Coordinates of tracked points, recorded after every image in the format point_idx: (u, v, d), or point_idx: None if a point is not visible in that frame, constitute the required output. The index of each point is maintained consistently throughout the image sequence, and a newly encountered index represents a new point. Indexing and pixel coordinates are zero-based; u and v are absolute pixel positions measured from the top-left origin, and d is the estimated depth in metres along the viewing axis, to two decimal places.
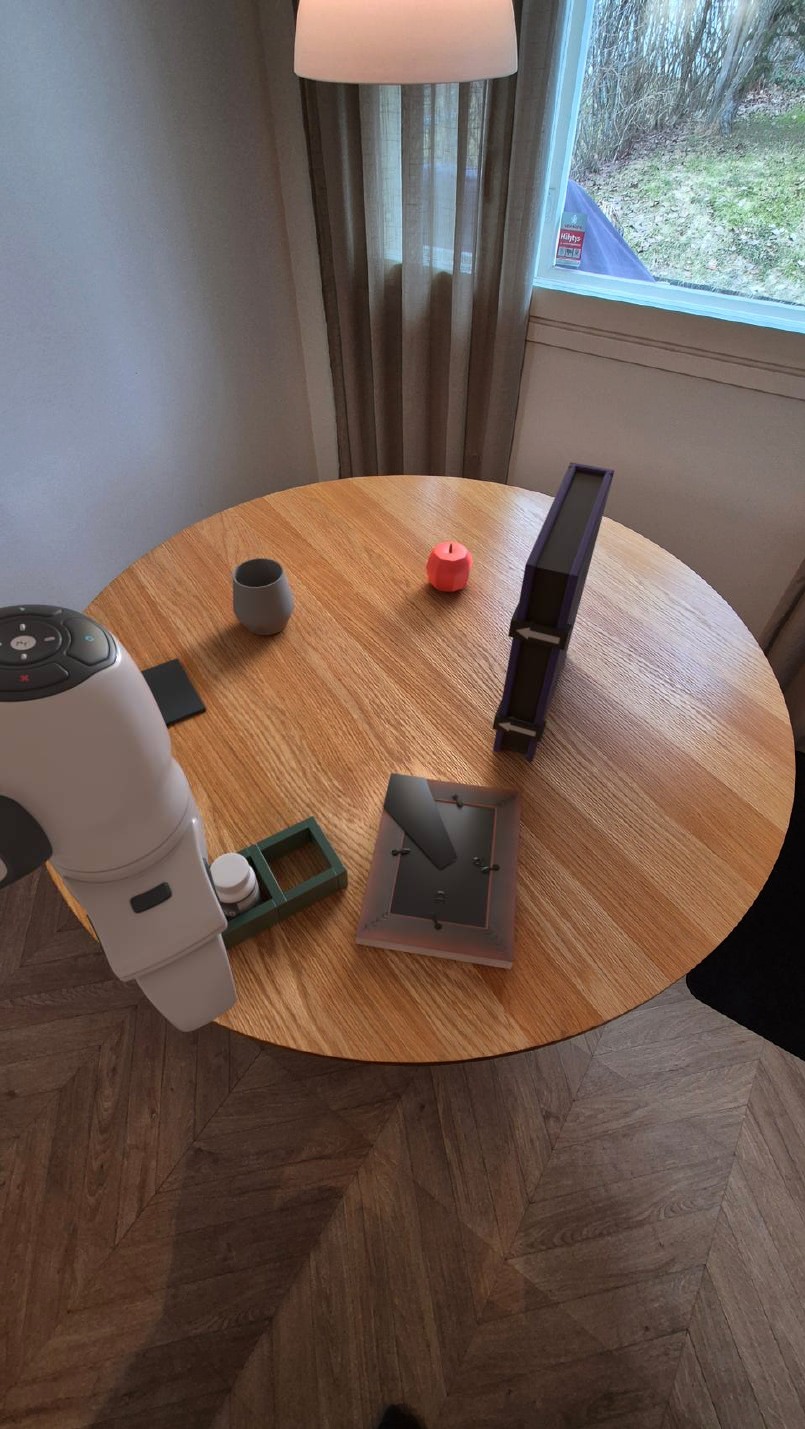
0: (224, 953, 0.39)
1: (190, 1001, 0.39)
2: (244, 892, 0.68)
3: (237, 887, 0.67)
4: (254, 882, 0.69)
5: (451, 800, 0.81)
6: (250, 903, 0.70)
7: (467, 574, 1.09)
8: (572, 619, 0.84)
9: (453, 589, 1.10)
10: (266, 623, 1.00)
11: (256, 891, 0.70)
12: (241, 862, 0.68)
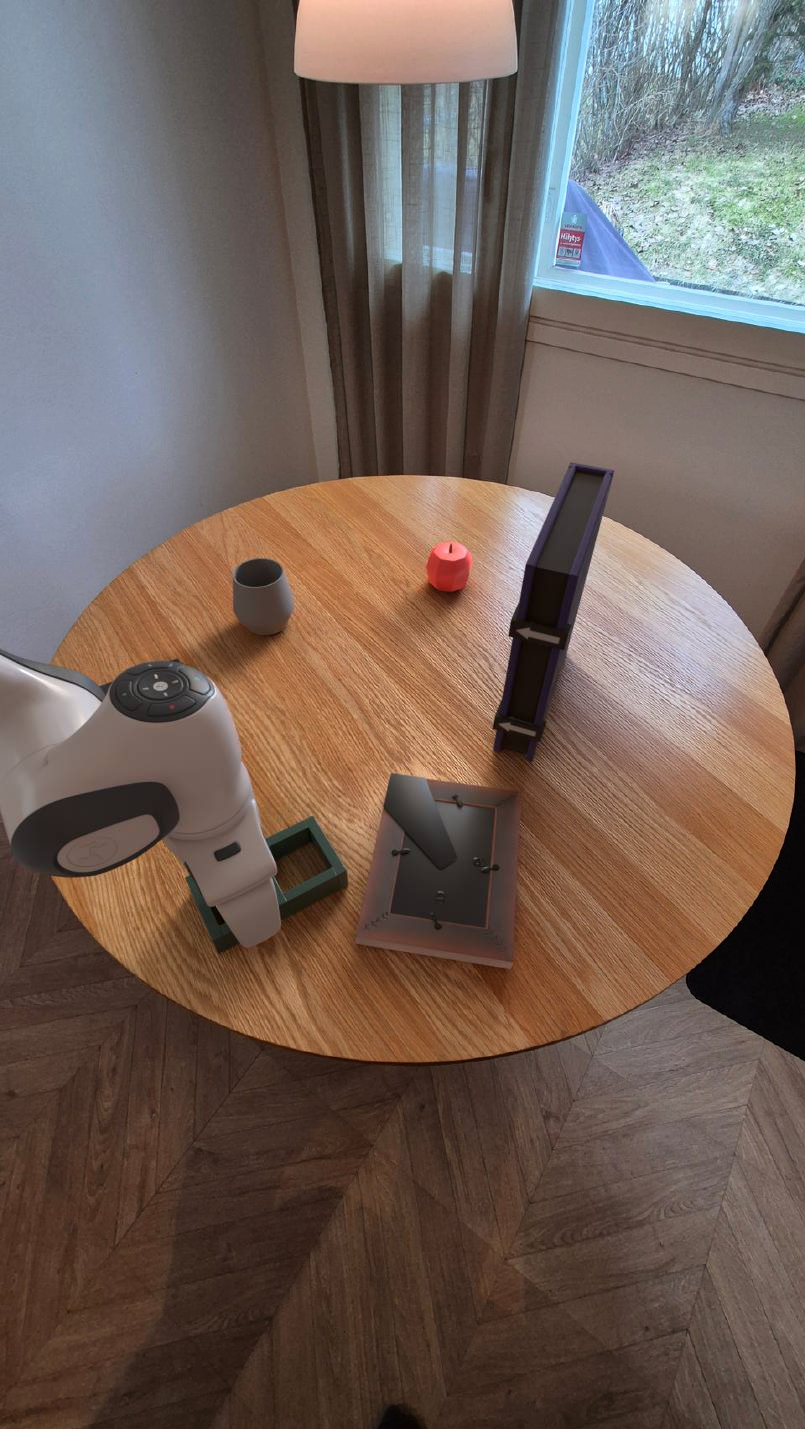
0: (274, 891, 0.57)
1: (251, 923, 0.57)
2: None
3: None
4: None
5: (451, 800, 0.81)
6: None
7: (467, 574, 1.09)
8: (572, 619, 0.84)
9: (453, 589, 1.10)
10: (266, 623, 1.00)
11: None
12: None
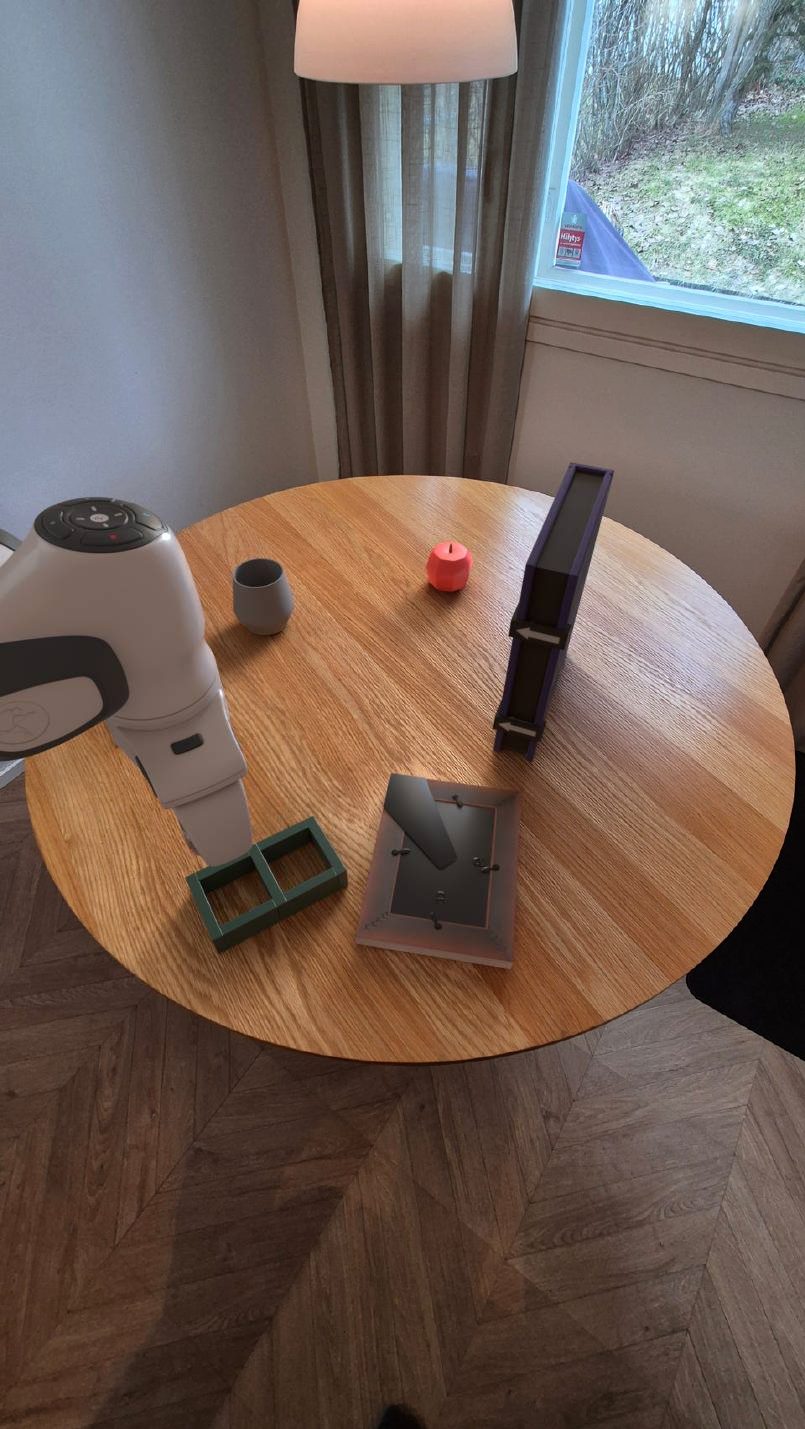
0: (244, 796, 0.48)
1: (216, 835, 0.48)
2: None
3: None
4: None
5: (451, 800, 0.81)
6: None
7: (467, 574, 1.09)
8: (572, 619, 0.84)
9: (453, 589, 1.10)
10: (266, 623, 1.00)
11: None
12: None
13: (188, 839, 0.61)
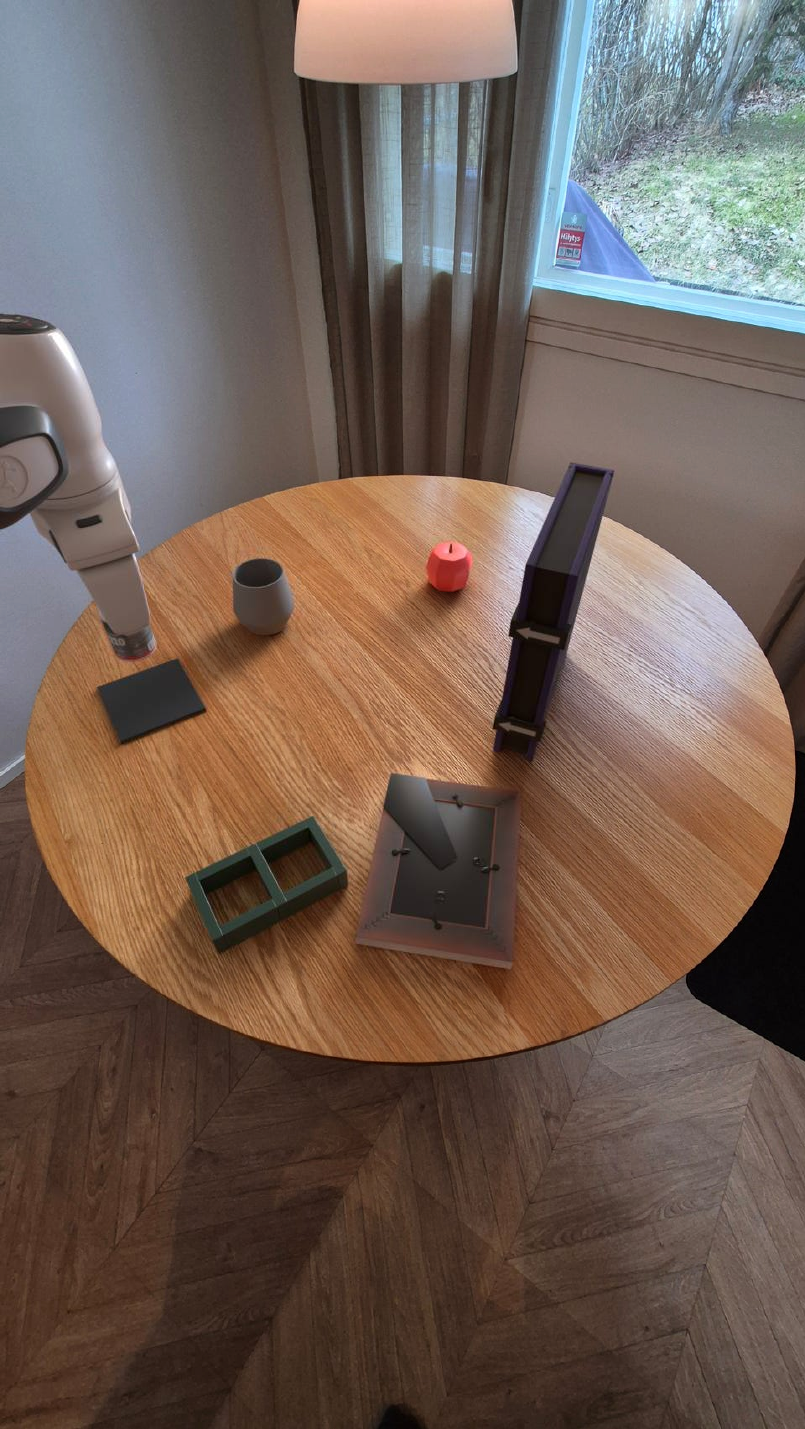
0: (137, 569, 0.61)
1: (116, 600, 0.61)
2: None
3: None
4: None
5: (451, 800, 0.81)
6: (139, 632, 0.74)
7: (467, 574, 1.09)
8: (572, 619, 0.84)
9: (453, 589, 1.10)
10: (266, 623, 1.00)
11: None
12: None
13: (112, 643, 0.74)
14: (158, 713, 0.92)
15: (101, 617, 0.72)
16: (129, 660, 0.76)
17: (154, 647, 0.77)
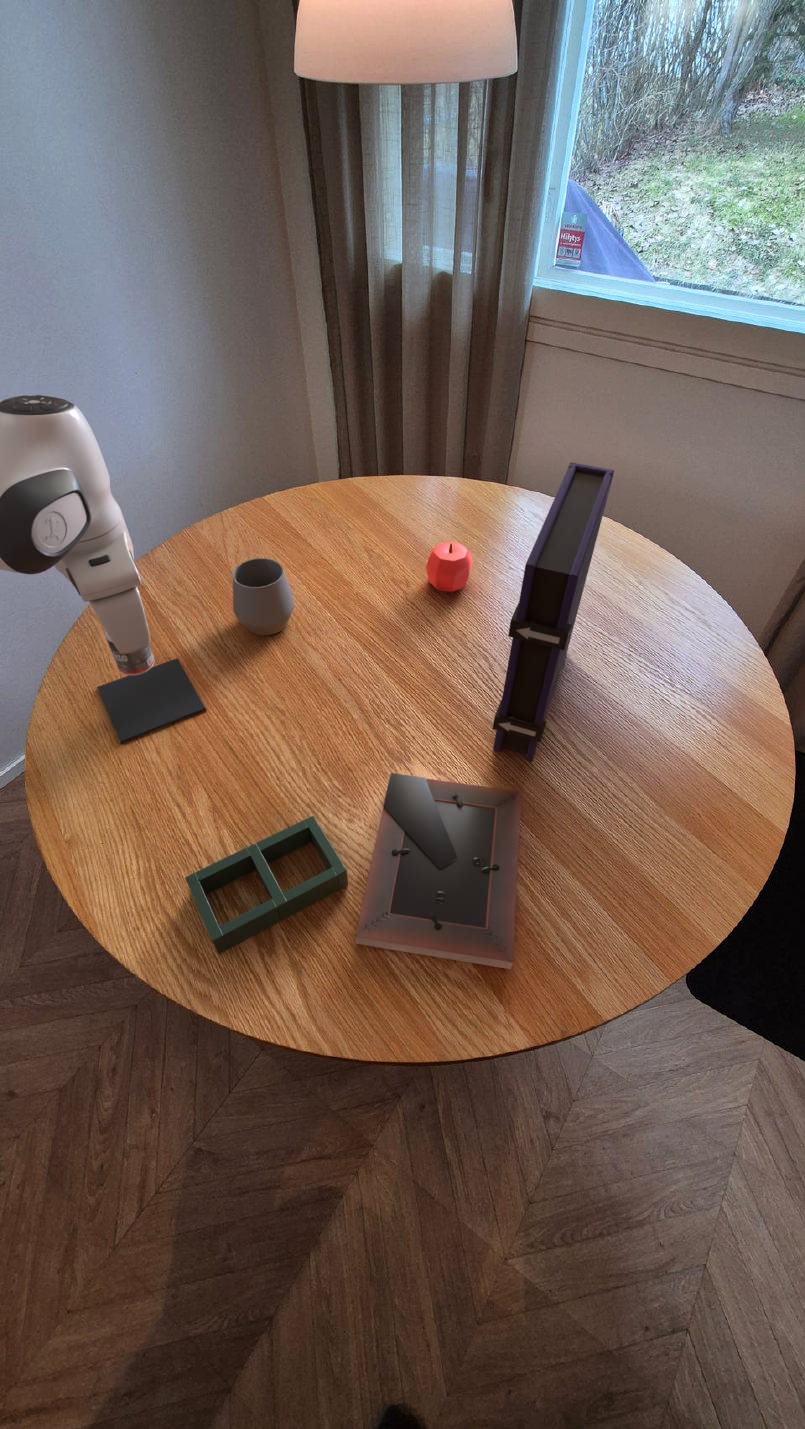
0: (140, 599, 0.73)
1: (122, 625, 0.73)
2: None
3: None
4: None
5: (451, 800, 0.81)
6: (139, 650, 0.86)
7: (467, 574, 1.09)
8: (572, 619, 0.84)
9: (453, 589, 1.10)
10: (266, 623, 1.00)
11: None
12: None
13: (116, 659, 0.86)
14: (158, 713, 0.92)
15: (107, 637, 0.84)
16: (131, 674, 0.87)
17: (152, 663, 0.89)
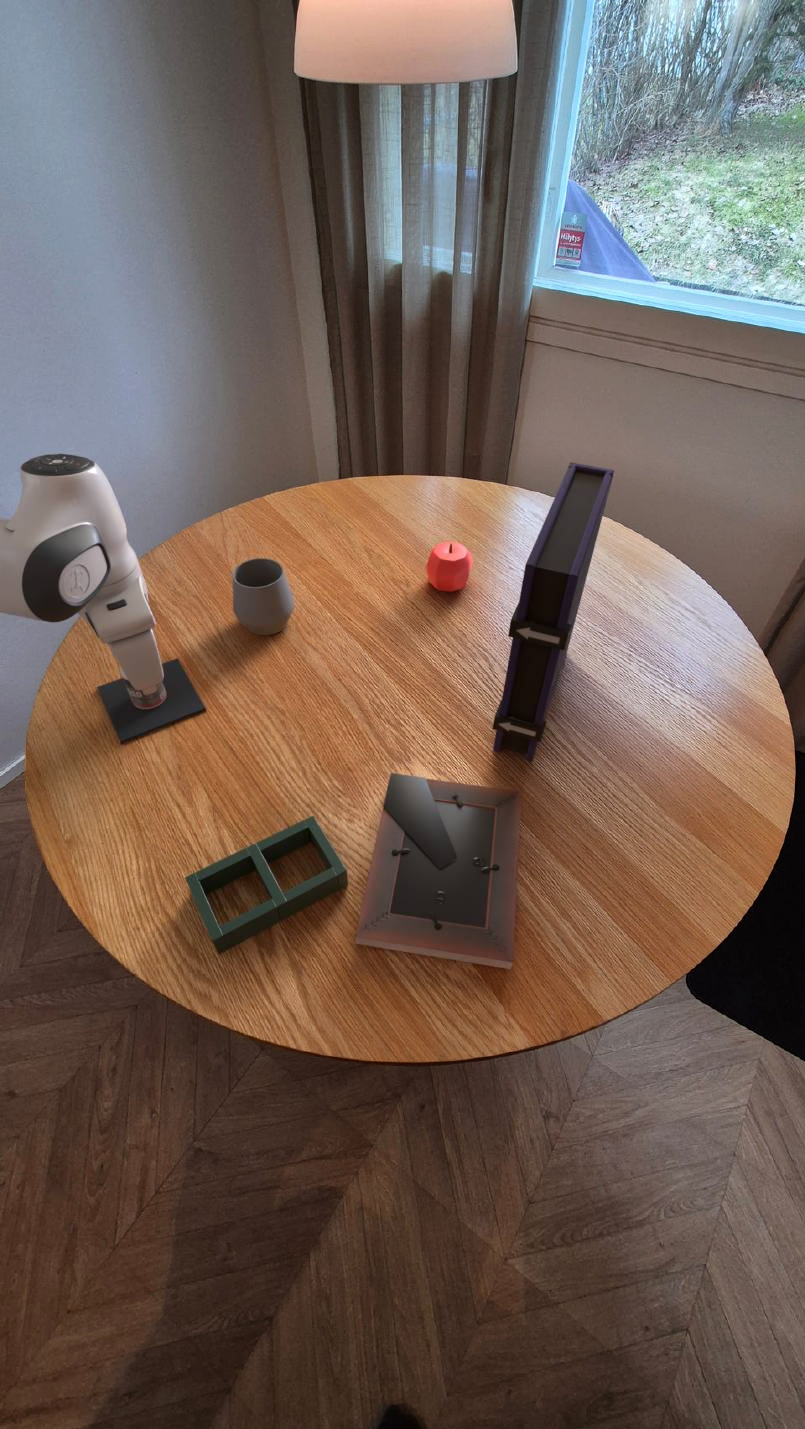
0: (154, 640, 0.78)
1: (137, 664, 0.78)
2: None
3: None
4: None
5: (451, 800, 0.81)
6: None
7: (467, 574, 1.09)
8: (572, 619, 0.84)
9: (453, 589, 1.10)
10: (266, 623, 1.00)
11: None
12: None
13: (131, 694, 0.91)
14: (158, 713, 0.92)
15: (122, 675, 0.88)
16: (144, 708, 0.92)
17: (164, 696, 0.93)
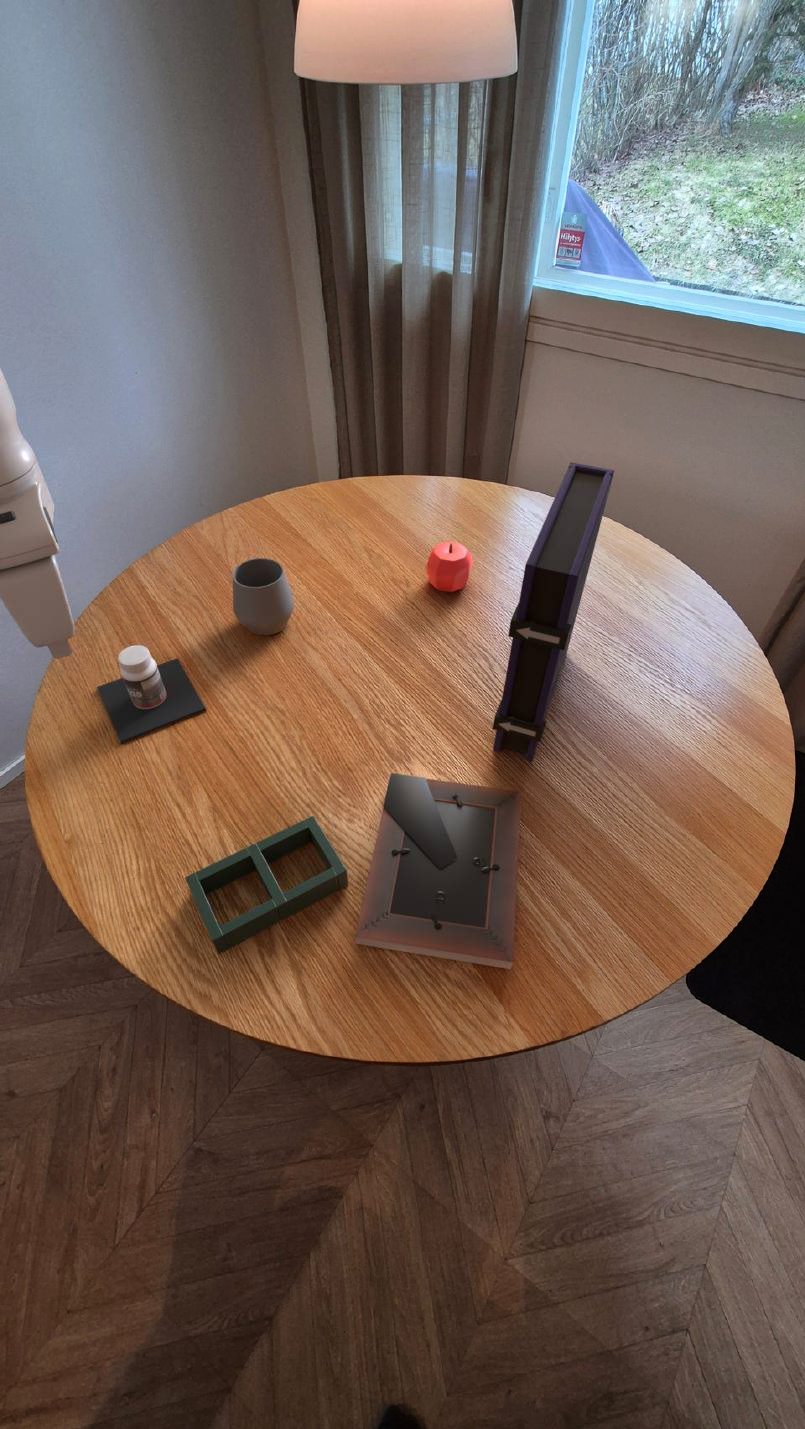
0: (57, 572, 0.54)
1: (32, 607, 0.54)
2: (146, 673, 0.88)
3: (139, 666, 0.87)
4: (155, 668, 0.90)
5: (451, 800, 0.81)
6: (153, 686, 0.90)
7: (467, 574, 1.09)
8: (572, 619, 0.84)
9: (453, 589, 1.10)
10: (266, 623, 1.00)
11: (157, 678, 0.91)
12: (144, 650, 0.88)
13: (131, 694, 0.91)
14: (158, 713, 0.92)
15: (122, 675, 0.88)
16: (144, 708, 0.92)
17: (164, 696, 0.93)
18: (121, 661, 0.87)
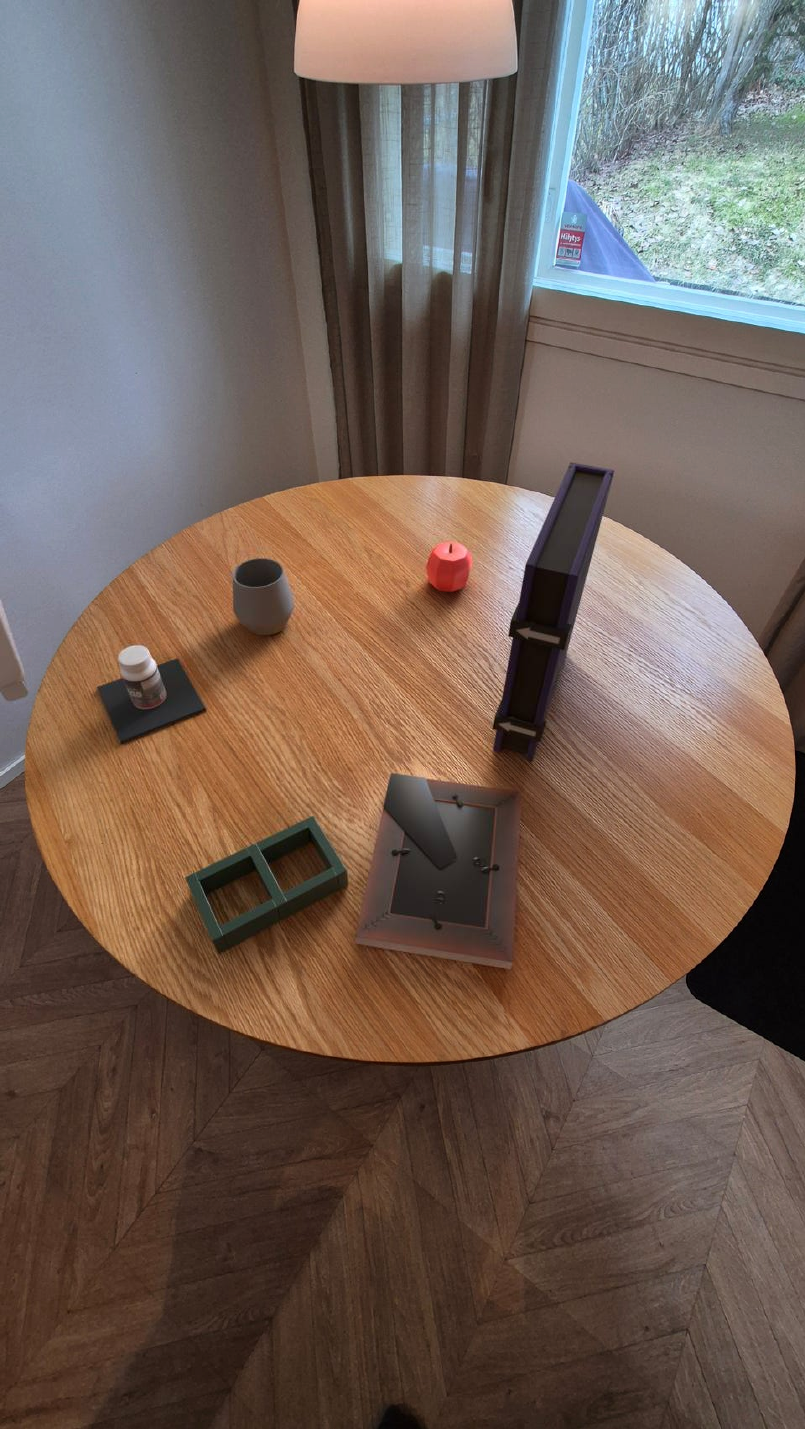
0: None
1: None
2: (146, 673, 0.88)
3: (139, 666, 0.87)
4: (155, 668, 0.90)
5: (451, 800, 0.81)
6: (153, 686, 0.90)
7: (467, 574, 1.09)
8: (572, 619, 0.84)
9: (453, 589, 1.10)
10: (266, 623, 1.00)
11: (157, 678, 0.91)
12: (143, 650, 0.88)
13: (131, 694, 0.91)
14: (158, 713, 0.92)
15: (122, 675, 0.88)
16: (144, 708, 0.92)
17: (164, 696, 0.93)
18: (121, 661, 0.87)
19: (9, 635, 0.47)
